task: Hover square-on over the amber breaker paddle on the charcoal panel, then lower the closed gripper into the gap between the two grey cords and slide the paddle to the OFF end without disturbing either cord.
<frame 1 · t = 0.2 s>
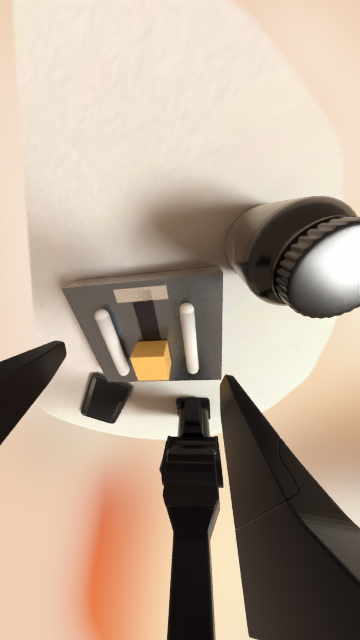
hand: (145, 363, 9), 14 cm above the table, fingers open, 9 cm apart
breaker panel: (156, 327, 25), on the table
breaker paddle: (152, 360, 22), point 5 cm above the table, slide at 0.0 cm
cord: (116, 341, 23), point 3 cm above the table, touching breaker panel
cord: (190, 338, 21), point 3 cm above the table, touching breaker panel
supplement bottle: (256, 243, 18), on the table
phone: (107, 396, 35), on the table
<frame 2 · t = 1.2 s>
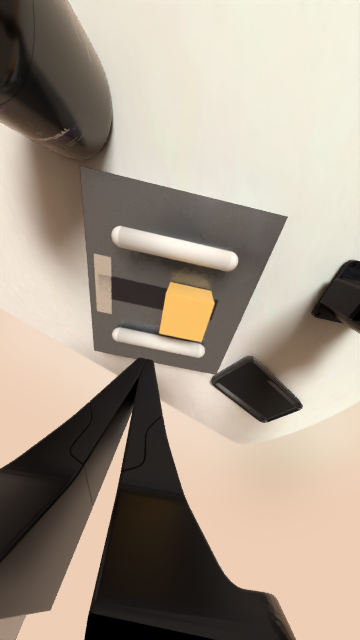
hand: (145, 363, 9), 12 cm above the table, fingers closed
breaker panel: (170, 289, 20), on the table
breaker paddle: (185, 311, 16), point 5 cm above the table, slide at 0.0 cm
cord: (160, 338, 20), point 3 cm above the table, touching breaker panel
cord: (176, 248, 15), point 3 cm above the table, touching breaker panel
supplement bottle: (73, 104, 13), on the table
phone: (256, 388, 28), on the table
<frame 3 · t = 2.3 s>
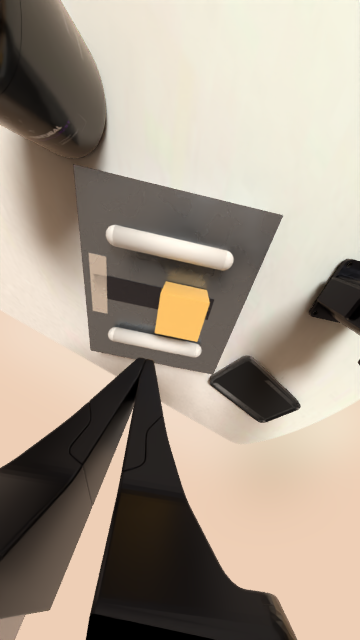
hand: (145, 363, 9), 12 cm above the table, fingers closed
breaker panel: (167, 289, 20), on the table
breaker paddle: (181, 311, 16), point 5 cm above the table, slide at 0.0 cm
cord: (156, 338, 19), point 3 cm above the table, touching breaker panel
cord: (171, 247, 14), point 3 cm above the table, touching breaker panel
supplement bottle: (66, 102, 13), on the table
phone: (254, 388, 28), on the table
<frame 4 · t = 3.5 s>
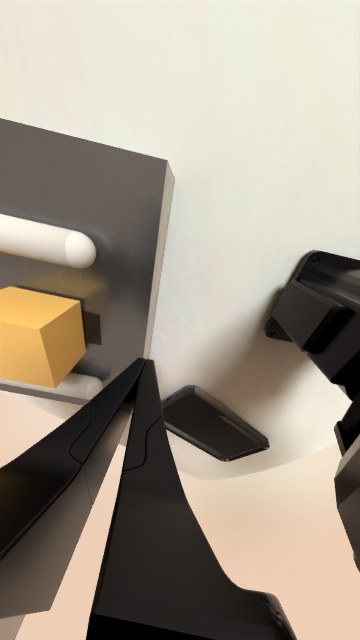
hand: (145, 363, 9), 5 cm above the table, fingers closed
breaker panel: (55, 296, 13), on the table
breaker paddle: (32, 336, 9), point 5 cm above the table, slide at 0.0 cm
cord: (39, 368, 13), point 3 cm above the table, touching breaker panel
phone: (210, 421, 22), on the table
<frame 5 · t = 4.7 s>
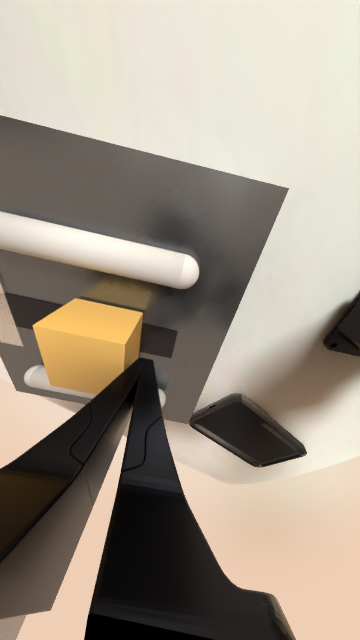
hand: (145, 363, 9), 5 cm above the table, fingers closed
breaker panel: (118, 308, 14), on the table
breaker paddle: (98, 347, 10), point 5 cm above the table, slide at 1.3 cm, touching gripper
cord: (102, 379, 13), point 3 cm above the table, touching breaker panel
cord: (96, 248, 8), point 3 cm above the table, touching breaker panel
phone: (247, 428, 22), on the table
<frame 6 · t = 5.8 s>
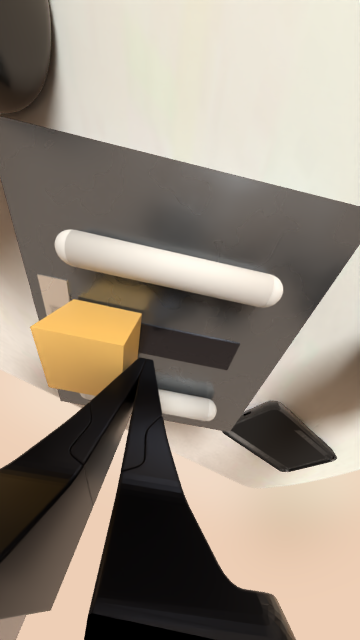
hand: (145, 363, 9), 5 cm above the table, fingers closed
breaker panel: (166, 319, 14), on the table
breaker paddle: (97, 348, 9), point 5 cm above the table, slide at 5.3 cm, touching gripper
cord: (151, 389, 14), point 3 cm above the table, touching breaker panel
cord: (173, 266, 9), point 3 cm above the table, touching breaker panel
phone: (277, 433, 22), on the table
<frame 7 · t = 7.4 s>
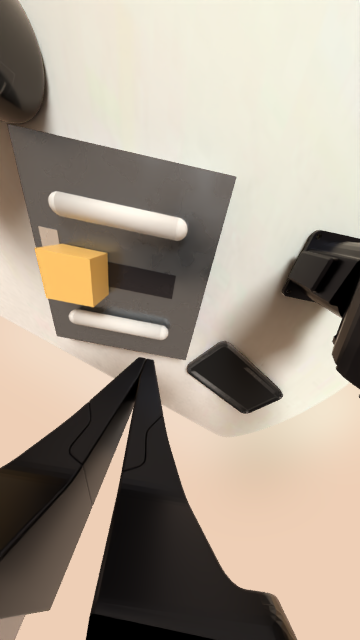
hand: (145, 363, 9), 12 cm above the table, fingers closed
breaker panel: (132, 269, 19), on the table
breaker paddle: (77, 274, 15), point 5 cm above the table, slide at 5.4 cm
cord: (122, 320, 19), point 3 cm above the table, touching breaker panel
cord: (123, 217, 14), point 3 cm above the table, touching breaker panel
supplement bottle: (3, 60, 12), on the table
phone: (234, 377, 27), on the table
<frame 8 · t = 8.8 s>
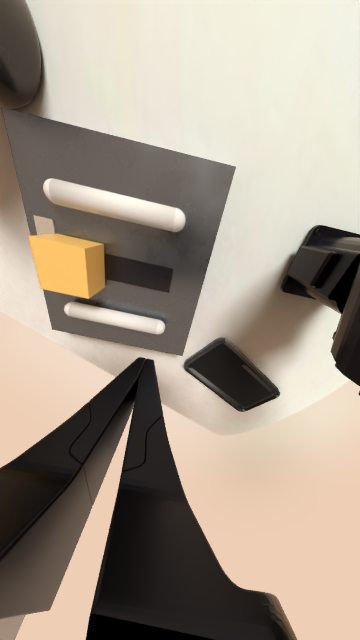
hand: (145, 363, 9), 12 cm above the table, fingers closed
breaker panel: (130, 263, 18), on the table
breaker paddle: (73, 265, 14), point 5 cm above the table, slide at 5.4 cm
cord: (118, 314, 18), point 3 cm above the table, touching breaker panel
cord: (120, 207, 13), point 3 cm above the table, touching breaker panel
phone: (232, 374, 27), on the table
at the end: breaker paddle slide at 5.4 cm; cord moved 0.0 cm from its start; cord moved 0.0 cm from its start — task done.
